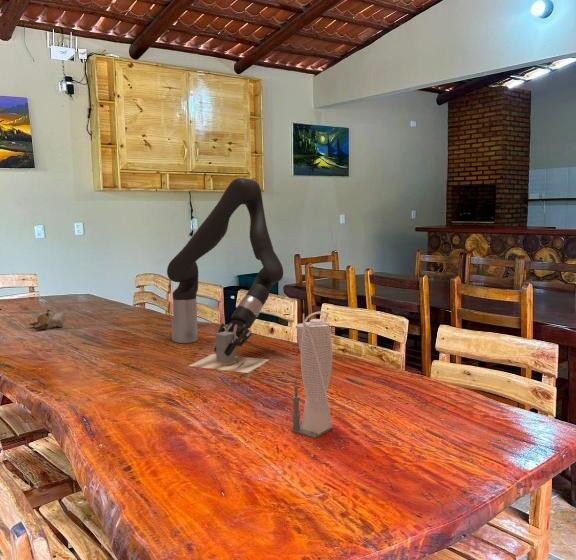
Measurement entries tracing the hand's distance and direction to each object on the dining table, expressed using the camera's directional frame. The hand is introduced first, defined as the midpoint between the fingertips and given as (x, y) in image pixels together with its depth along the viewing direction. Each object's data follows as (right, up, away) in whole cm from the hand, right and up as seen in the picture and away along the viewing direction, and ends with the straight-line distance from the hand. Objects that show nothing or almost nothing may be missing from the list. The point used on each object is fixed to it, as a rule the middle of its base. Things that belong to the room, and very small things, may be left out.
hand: (221, 353), depth 177 cm
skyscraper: (+28, -12, -49) cm, 58 cm away
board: (+2, -5, +3) cm, 6 cm away
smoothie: (+28, -2, +22) cm, 36 cm away
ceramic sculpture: (-86, +2, +66) cm, 108 cm away
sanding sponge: (+1, -4, +2) cm, 4 cm away
